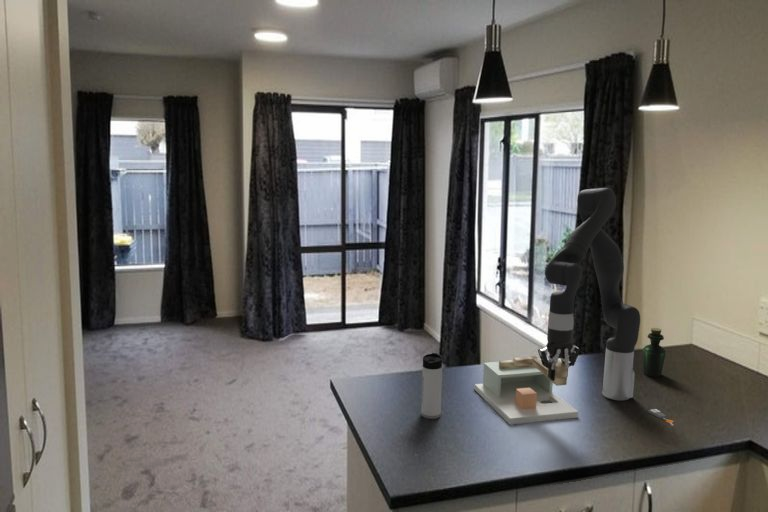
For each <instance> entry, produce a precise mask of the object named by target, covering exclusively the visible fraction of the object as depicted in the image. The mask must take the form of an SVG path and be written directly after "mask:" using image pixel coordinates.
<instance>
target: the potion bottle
mask: <svg viewBox="0 0 768 512" xmlns="http://www.w3.org/2000/svg"><path fill="white" fill-rule="evenodd" d="M650 330H651V333H650V332H649V333H648V334H647V338H648V339H649V340H650V344H647V345H644V347H643V349H642V368H643V370H642V372H643V374H645V375H646V376H649V377H656V378H657V377H661V376H662V373H663V368H664V363H665V358H666V352H667V351H666V348H664V347H663V346H662V345H660V343H661V341H664V339H665V338H664V335H663V334H661V333H662V328H658V327H651V328H650Z"/></svg>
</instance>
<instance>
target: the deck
mask: <svg viewBox="0 0 768 512" xmlns="http://www.w3.org/2000/svg"><path fill="white" fill-rule="evenodd" d="M482 376H483V377H482V378H483V379H482V383H474V389H473V390H474V391H476V393H477V394H479V395H480V397H482V399H484V401H485V402H486V403H488V405H489V406H490V407H491V408H492V409H494V410H495V411H496V412H497V414H499V416H501V418H503V419H504V421H506V422H507V424H508V425H517V424H526V423H528V424H529V423H536V422H538V423H539V422H546V421H547V420H548V421H557V420H564V419H575V418H579V411H578V409H576V408H575V407H573V406H572V405H570V403H568V402H566V401H565V400H564V399H562V398H561V397H560V396H558V395H557V394H556V393H555V392H553V385H554V383H552V382H551V381H550V380H549V379H547V376H546V375H544V374H543V373H542V372H541V371H539V370H538V369H537V368H536V367H534V366H531V367H519V368H506V369H501V368H500V367H499V361H490V362H484V363H483V375H482ZM520 388H531V389H532V390H533V391H535V392H536V393H537V401H536V408H529V409H521V408H520V407H519V406H518V405H517V404H516V403H515V398H516V389H520ZM542 402H546V403H542ZM547 402H549V403H547ZM551 402H552V403H551ZM556 419H557V420H556Z"/></svg>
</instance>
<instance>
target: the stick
mask: <svg viewBox="0 0 768 512" xmlns="http://www.w3.org/2000/svg"><path fill="white" fill-rule="evenodd" d="M498 362H499V367H500V368H501V369H506V368H519V367H531V366H533V365H526V366H515V365H514V364H513V359H509V360H508V359H507V360H505V359H504V360H498Z"/></svg>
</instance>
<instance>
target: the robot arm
mask: <svg viewBox="0 0 768 512" xmlns="http://www.w3.org/2000/svg"><path fill="white" fill-rule="evenodd" d="M576 202H577V209H578V212H579V213H578V214H579V216H580V219H581V221H582V223H581V224H580V225H579V226H577V227H576V228H575V229H574V230H573V231H571V233H570V234H569V235H568V236H567V239H566V241H565V244H564V245H563V247H562V249H560V250H559V252H558V253H557V254H555V256H554V257H553V258H552V259H551V260H550V261H549V262H548V264H547V266H546V268H545V270H544V271H545V272H544V273H545V274H544V275H545V279H546V280H547V282H548V283H550V284H554V285H560V286H565V290H564V291H562V290H561V291H560V290H559V291H554V292H552V293H551V294H550V296H549V298H550V299H549V314H548V319H547V338H546V339H547V344H546V345H545V347H544V348H542V349H541V348H538V349H537V353H538V355H539V359H540V360H541V362H542V365H543V366H545V367H546V368H548V378H549V379H550V380H552V381H554V380H555V365H556V363H557V361H558V360H559V359H560V361H561V362H562V363H564V364H565V365H566V366H568V369H569V368H570V367H573V366H575V364H576V362H577V360H578V357H579V355H580V352H581V348H580V347H578V346H576V345H573V341H574V340H573V339H574V337H573V336H574V324H575V323H574V322H575V321H574V320H575V318H574V309H575V298H576V294H577V292H578V288H579V285H580V282H581V281H582V278H583V270H582V267H581V266H580V264H581V263H582V262H583V261H584V259H585V257H586V256H587V253H588V250H589V249H590V252H591V258H592V261H593V266H594V267H593V268H594V270H595V274H596V278H597V283H598V288H599V292H600V293H599V294H600V299H601V308H602V316H603V320H604V322H605V323H606V324H607V326H608V327H611V328H613V329H615V330H616V332H615V336H613V337H610V338H608V339H607V340H606V343H605V355H604V357H605V358H604V368H603V380H602V381H603V382H602V392H601V393H602V396H604V397H605V398H607V399H610V400H614V401H627V400H630V399H633V396H634V387H635V374H636V372H635V371H634V369H633V368H634V357H635V347H636V345H637V342H638V339H639V335H640V334H639V333H640V328H641V326H640V325H641V314H640V311H639V310H638V308H636V307H634V306H632V305H630V304H627V303H624V302H623V299H622V296H621V292H620V284H621V283H620V282H621V280H622V277H623V274H624V261H623V256H622V252H621V249H620V247H619V246H618V244H617V243H616V242H615V241H614V239H612V238H611V236H609V234H607V232H606V231H605V230H604V229H603V227H604V226H605V225H606V223H607V221H608V220H609V219H610V218H611V216H612V215H613V213H614V212H615V209H616V205H617V196H616V194H615V192H614V190H613V189H611V188H608V187H598V188H589V189H583V190H581V191H579V193H578V195H577V200H576ZM548 353H549V354H548ZM548 360H549V361H548ZM568 376H569V371H568V372H567V377H568Z"/></svg>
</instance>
